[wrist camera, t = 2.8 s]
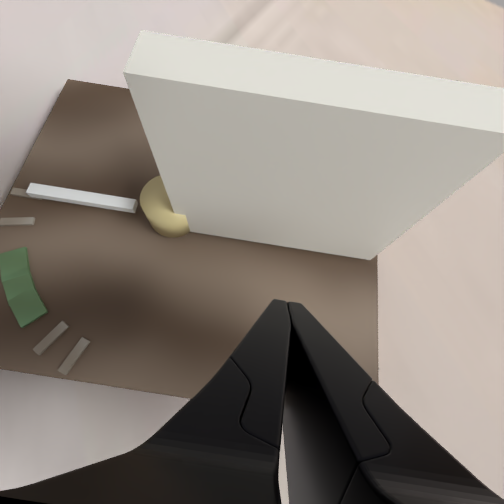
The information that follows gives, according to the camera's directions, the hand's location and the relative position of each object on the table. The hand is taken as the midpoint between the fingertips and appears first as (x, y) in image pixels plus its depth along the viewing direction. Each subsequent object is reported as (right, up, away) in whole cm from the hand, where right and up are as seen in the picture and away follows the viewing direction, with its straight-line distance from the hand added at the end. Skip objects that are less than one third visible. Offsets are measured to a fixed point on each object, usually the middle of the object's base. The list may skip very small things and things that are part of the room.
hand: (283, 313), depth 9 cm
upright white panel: (-4, +3, +7) cm, 9 cm away
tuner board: (-4, +3, +9) cm, 10 cm away
